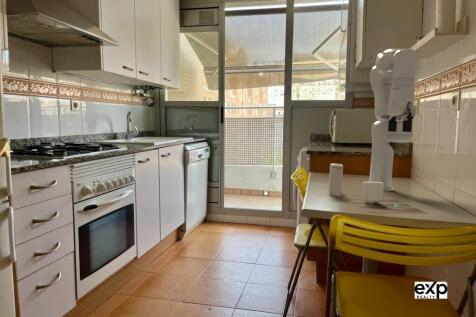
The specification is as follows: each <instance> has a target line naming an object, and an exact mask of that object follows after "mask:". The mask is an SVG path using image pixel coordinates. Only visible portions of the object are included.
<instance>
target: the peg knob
mask: <svg viewBox="0 0 476 317" xmlns="http://www.w3.org/2000/svg"><path fill="white" fill-rule="evenodd" d="M383 190H384V183H383V182H369V181H362V187H361V196H362V197H365V201H364V202H365V203H368V204H376V205H378V206H380V207H382V208H386V206H384V205H382V204H380V203H379V199H380V198H384V191H383Z"/></svg>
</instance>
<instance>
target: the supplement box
mask: <svg viewBox="0 0 476 317" xmlns="http://www.w3.org/2000/svg"><path fill="white" fill-rule="evenodd" d="M343 171H344V165H343V164H342V163H333V162H332V163H330V164H329V174H328V176H329V178H328V191H327V192H328V196H339V197H342V185H343V174H344V172H343Z"/></svg>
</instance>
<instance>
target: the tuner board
mask: <svg viewBox="0 0 476 317" xmlns="http://www.w3.org/2000/svg"><path fill="white" fill-rule="evenodd" d="M343 198H344V199H346V200H348V201H350V202H351V203H353V204H354V205H357V206H359V207H360V208H362V209H363V210H365V211H367V212H369V213H372V214H373V213H374V214H375V213H378V214H379V213H380V214H415V215H416V214H420V215H423V214H424V215H428V214H430V213H429V212H427V211H425V210H422V209H420V208H417V207H414V206H412V205H409V204H408V203H405V202H402V201H400V200H398V199H395V198H394V197H380V199H379V203H380V204H382V205H384V206H386V208H382V207H380V206H378V205H376V204H368V203H365V202H364V201H365V196H343Z"/></svg>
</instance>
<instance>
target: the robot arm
mask: <svg viewBox="0 0 476 317" xmlns="http://www.w3.org/2000/svg"><path fill="white" fill-rule="evenodd" d="M417 68H418V53H417V51H416V50H415V49H413V48H388V49H386V50H384V51H383V52H380V53H378V54H377V57H376V58H375V64H374V66H373V67H372V68H371V70H370V74H369V79H370V81H369V82H370V86H371V90H372V91H373V92H372V93H373V94H374V117H375V119H376V121H375V122H373V124H372V125H371V129H370V130H371V156H370V170H369V178H368V181H367V182H383V183H384V190H383V192H393V191H394V190H395V187H394V186H392V177H393V166H394V164H393V163H394V156H395V155H394V152H395V151H394V148H393V147H392V146H391V145H390V143H409V142H410V141H412V140H413V137H414V125H413V124H414V123H413V121H414V120H415V119H414V117H415V116H416V113H417V112H416V111H417V109H418V108H417V107H416V105H415V82H416V72H417ZM390 83H391V88H390V87H389V85H387V84H390Z"/></svg>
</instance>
